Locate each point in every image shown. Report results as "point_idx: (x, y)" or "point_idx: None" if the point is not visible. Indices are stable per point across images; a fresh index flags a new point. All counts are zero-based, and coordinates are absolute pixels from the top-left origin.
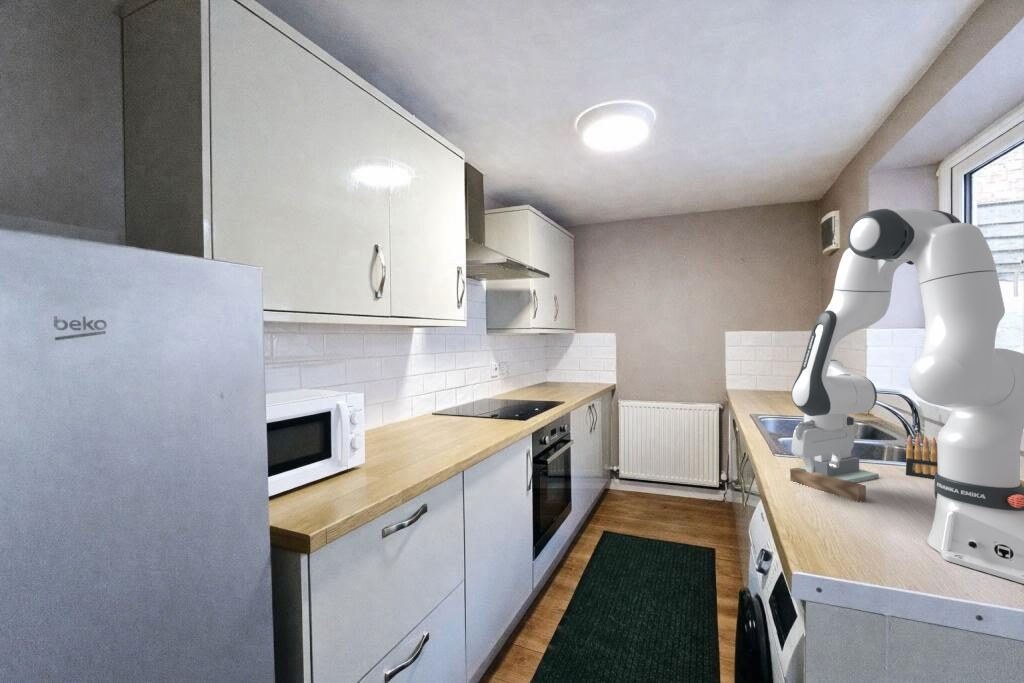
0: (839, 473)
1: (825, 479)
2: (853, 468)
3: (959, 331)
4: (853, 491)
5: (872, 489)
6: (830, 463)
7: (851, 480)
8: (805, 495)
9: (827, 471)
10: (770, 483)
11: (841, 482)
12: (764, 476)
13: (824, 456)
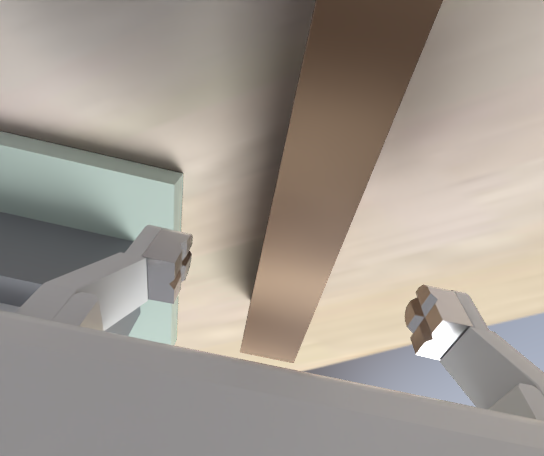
0: (31, 223)
1: (351, 212)
2: None
3: None
4: None
5: (36, 8)
6: (180, 281)
7: (47, 150)
8: (485, 214)
9: None
10: (386, 341)
11: (391, 105)
12: (306, 369)
13: None
